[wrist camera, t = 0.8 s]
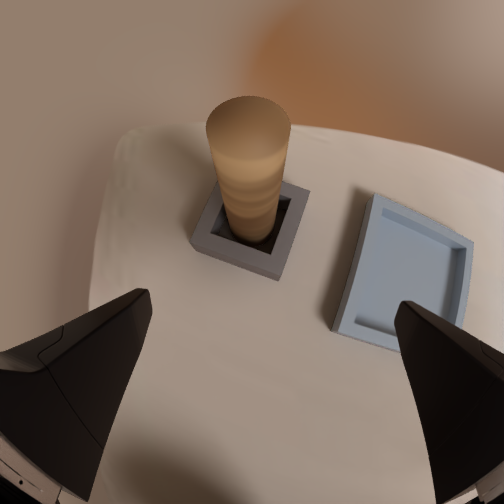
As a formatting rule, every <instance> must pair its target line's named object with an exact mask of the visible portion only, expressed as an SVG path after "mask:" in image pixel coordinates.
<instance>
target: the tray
mask: <svg viewBox="0 0 504 504" xmlns="http://www.w3.org/2000/svg"><path fill="white" fill-rule="evenodd" d="M473 247H474V242H473V241H471V240H469V239H467V238H466V237H464V236H462V235H460V234H458V233H456V232H455V231H453V230H451V229H449V228H447V227H445V226H443V225H441V224H439V223H437V222H436V221H434V220H432V219H430V218H428V217H426V216H424V215H421V214H419V213H417V212H415V211H413V210H411V209H409V208H407V207H405V206H403V205H400V204H398V203H396V202H394V201H391V200H389V199H387V198H385V197H382V196H380V195H378V194H375V193H374V195H373V196H372V197H371V198H370V199H369V201H368V202H367V204H366V209H365V213H364V218H363V222H362V226H361V230H360V235H359V239H358V242H357V246H356V250H355V254H354V258H353V261H352V265H351V269H350V272H349V276H348V279H347V282H346V286H345V289H344V292H343V296H342V299H341V302H340V305H339V308H338V311H337V314H336V317H335V320H334V323H333V326H332V329H331V332H334V333H337V334H340V335H343V336H346V337H350V338H353V339H356V340H359V341H362V342H366V343H369V344H372V345H375V346H379V347H382V348H385V349H389V350H392V351H395V352H399V353H401V352H400V348H399V343H398V339H397V335H396V331H395V327H394V319H395V316H396V313H397V310H398V307H399V304H400V302H401V301H404V300H411V301H413V302H415V303H417V304H419V305H420V306H422V307H424V308H426V309H427V310H429V311H431V312H433V313H435V314H436V315H438V316H440V317H441V318H443V319H445V320H447V321H448V322H450V323H452V324H454V325H455V326H457V327H459V328H460V329H462V325H463V321H464V316H465V311H466V305H467V299H468V293H469V286H470V279H471V270H472V260H473Z"/></svg>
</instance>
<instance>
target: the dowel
mask: <svg viewBox="0 0 504 504" xmlns="http://www.w3.org/2000/svg"><path fill="white" fill-rule="evenodd" d="M290 129H291V123H290V119H289V117H288V115H287V113H286V112H285V111H284V109H283V108H281V107H280V106H279V105H278V104H276V103H275V102H273V101H270V100H268V99H265V98H261V97H255V96H242V97H237V98H233V99H230V100H228V101H225V102H223V103H222V104H220V105H219V106H218V107H216V108H215V110H213V111H212V113H211V114H210V116H209V117H208V120H207V123H206V133H207V138H208V142H209V146H210V150H211V154H212V158H213V162H214V166H215V170H216V174H217V178H218V182H219V186H220V190H221V194H222V198H223V202H224V206H225V210H226V214H227V218H228V222H229V225H230V229H231V233H232V235H233V237H234V239H235V240H236V241H237V242H238V243H240V244H242V245H245V246H248V247H257V246H260V245H262V244H264V243H265V242H267V241H268V240H269V238H270V237H271V235H272V233H273V228H274V223H275V217H276V212H277V206H278V200H279V195H280V189H281V183H282V177H283V172H284V166H285V160H286V154H287V148H288V142H289V136H290Z"/></svg>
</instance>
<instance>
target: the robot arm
mask: <svg viewBox="0 0 504 504" xmlns="http://www.w3.org/2000/svg"><path fill="white" fill-rule="evenodd" d="M151 316H152V304H151V299H150V293H149V290H147V289H142V288H136V289H134V290H132V291H130V292H128V293H126V294H124V295H122V296H120V297H118V298H116V299H114V300H112V301H110V302H108V303H106V304H104V305H102V306H100V307H98V308H96V309H94V310H92V311H90V312H88V313H86V314H84V315H82V316H80V317H78V318H76V319H74V320H72V321H70V322H68V323H66V324H64V325H62V326H60V327H58V328H56V329H54V330H52V331H50V332H48V333H46V334H44V335H41V336H39V337H37V338H34V339H32V340H30V341H27V342H25V343H23V344H21V345H18V346H15V347H13V348H11V349H8V350H6V351H3V352H0V504H60V503H59V500H58V497H59V494H60V492H61V490H63V491H65V492H67V493H69V494H71V495H73V496H75V497H77V498H79V499H81V500H83V501H86V502H88V500H89V497H90V493H91V490H92V487H93V483H94V480H95V476H96V473H97V470H98V467H99V464H100V461H101V457H102V454H103V451H104V448H105V445H106V442H107V439H108V436H109V433H110V430H111V427H112V425H113V422H114V419H115V416H116V414H117V411H118V408H119V405H120V403H121V400H122V397H123V395H124V392H125V390H126V387H127V385H128V382H129V379H130V377H131V374H132V372H133V369H134V367H135V365H136V362H137V360H138V357H139V355H140V352H141V350H142V347H143V344H144V340H145V337H146V333H147V330H148V326H149V323H150V320H151ZM394 327H395V331H396V335H397V339H398V343H399V348H400V352H401V356H402V360H403V363H404V366H405V369H406V372H407V376H408V379H409V382H410V385H411V389H412V392H413V395H414V399H415V402H416V406H417V410H418V413H419V417H420V421H421V425H422V429H423V433H424V437H425V442H426V446H427V451H428V455H429V461H430V467H431V472H432V478H433V484H434V491H435V498H436V504H445V503H447V502H449V501H451V500H454V499H456V498H458V497H460V496H462V495H464V494H466V493H468V492H470V491H472V490H473V489H475V488H476V490H477V493H478V496H477V497H475V498H474V499H472V500H470V501H469V502H467V503H465V504H504V354H503V353H501V352H499V351H498V350H496V349H494V348H492V347H491V346H489V345H487V344H486V343H484V342H482V341H481V340H479V339H477V338H476V337H474V336H472V335H471V334H469V333H467V332H466V331H464V330H462V329H460V328H459V327H457V326H455V325H454V324H452V323H450V322H448V321H447V320H445V319H443V318H441V317H440V316H438V315H436V314H435V313H433V312H431V311H429V310H427V309H426V308H424V307H422V306H420V305H419V304H417V303H415V302H413V301H411V300H404V301H401V302H400V304H399V307H398V310H397V313H396V316H395V319H394Z"/></svg>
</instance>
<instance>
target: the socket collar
mask: <svg viewBox="0 0 504 504" xmlns="http://www.w3.org/2000/svg"><path fill="white" fill-rule="evenodd" d="M309 194H310V191H309V190H306V189H303V188H301V187H298V186H295V185H292V184H289V183H286V182H283V181H282V183H281V189H280V195H279V200H278V206H277V207H278V208H281V209H284V210H287V213H286V215H285V218H284V221H283V224H282V226H281V229H280V232H279V234H278V237H277V240H276V243H275V245H274V248H273V251H272V253H271V255H270V254H267V253H264V252H261V251H259V250H256V249H253V248H250V247H248V246H245V245H242V244H239V243H236V242H234V241H231V240H228V239H225V238H223V237H220V236H218V233H219V231H220V229H221V226H222V224H223V222H224V219H225V217H226V215H227V214H226V210H225V206H224V202H223V198H222V194H221V190H220V186H219V182H218V181H217V183H216V185H215V187H214V189H213V191H212V193H211V196H210V198H209V200H208V202H207V204H206V206H205V208H204V210H203V213H202V215H201V217H200V219H199V221H198V224H197V226H196V228H195V230H194V232H193V235H192V237H191V239H190V241H189V242H190V244H191V245H192V246H193V248H194V249H195V250H196V251H198V252H201V253H203V254H206V255H209V256H211V257H214V258H217V259H219V260H222V261H225V262H227V263H230V264H233V265H235V266H238V267H241V268H243V269H246V270H249V271H251V272H254V273H257V274H260V275H262V276H265V277H268V278H271V279H273V280H276V281H279V279H280V277H281V275H282V272H283V269H284V266H285V264H286V261H287V258H288V255H289V252H290V250H291V247H292V244H293V241H294V238H295V235H296V232H297V229H298V226H299V223H300V221H301V218H302V215H303V212H304V209H305V206H306V203H307V200H308V197H309Z"/></svg>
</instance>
